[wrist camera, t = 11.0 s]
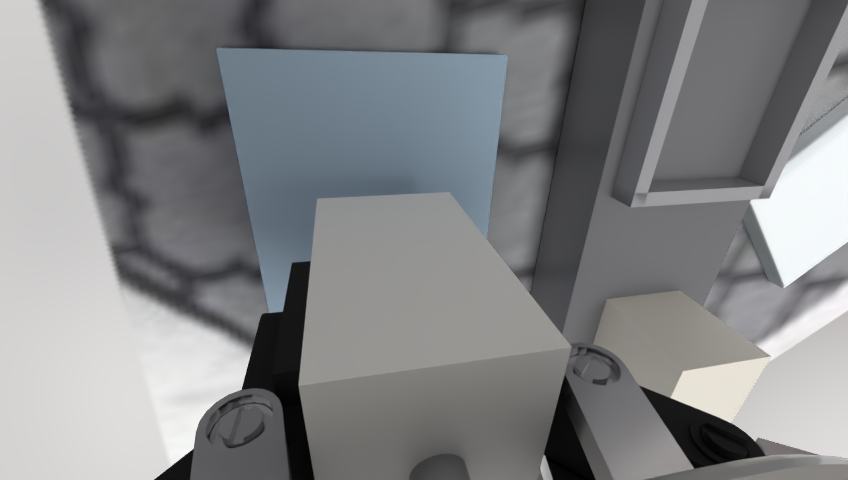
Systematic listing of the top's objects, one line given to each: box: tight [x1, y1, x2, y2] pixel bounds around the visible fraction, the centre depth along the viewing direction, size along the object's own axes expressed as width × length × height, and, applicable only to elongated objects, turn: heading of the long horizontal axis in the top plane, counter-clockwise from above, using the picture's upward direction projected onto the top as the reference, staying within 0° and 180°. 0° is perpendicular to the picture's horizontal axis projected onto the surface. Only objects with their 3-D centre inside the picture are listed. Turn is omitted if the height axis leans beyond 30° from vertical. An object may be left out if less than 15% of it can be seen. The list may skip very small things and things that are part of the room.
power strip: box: [531, 0, 848, 423], centre depth 13 cm, size 26×7×7 cm, turn 178°
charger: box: [298, 192, 572, 480], centre depth 9 cm, size 5×4×8 cm
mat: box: [216, 48, 508, 313], centre depth 15 cm, size 12×9×1 cm
